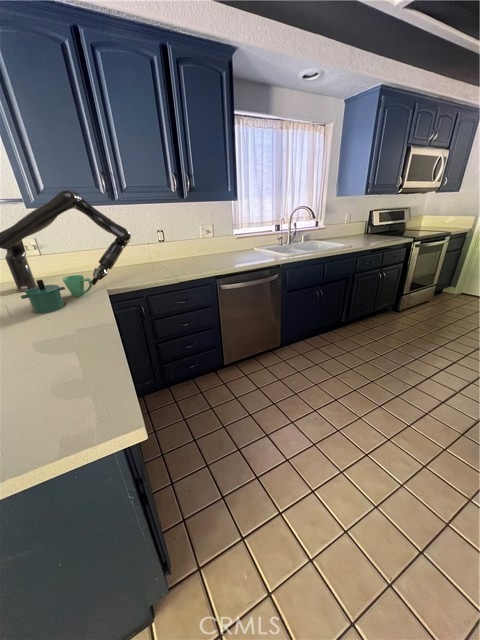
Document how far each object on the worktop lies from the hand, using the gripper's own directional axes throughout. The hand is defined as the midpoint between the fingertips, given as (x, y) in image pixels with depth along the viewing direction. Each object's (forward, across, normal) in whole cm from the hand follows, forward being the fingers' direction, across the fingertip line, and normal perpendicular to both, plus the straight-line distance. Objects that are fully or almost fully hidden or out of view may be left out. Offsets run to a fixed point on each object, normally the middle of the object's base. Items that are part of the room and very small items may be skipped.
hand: (92, 284), depth 151 cm
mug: (+8, 0, -1) cm, 8 cm away
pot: (+20, +8, -14) cm, 26 cm away
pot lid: (+14, +8, -21) cm, 26 cm away
